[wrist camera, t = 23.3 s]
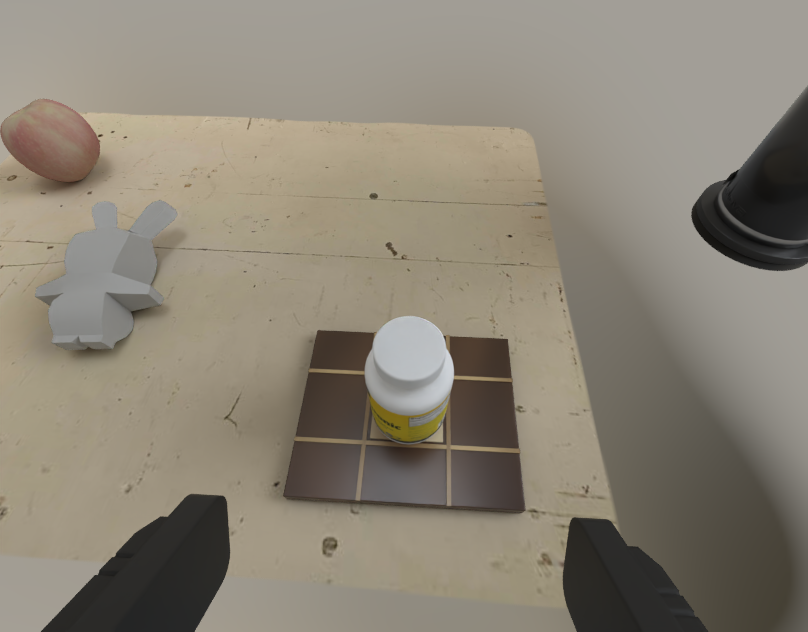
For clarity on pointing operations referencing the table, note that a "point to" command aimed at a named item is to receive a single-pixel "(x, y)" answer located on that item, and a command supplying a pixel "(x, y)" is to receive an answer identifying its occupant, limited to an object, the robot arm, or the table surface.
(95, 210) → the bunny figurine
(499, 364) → the board
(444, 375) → the supplement bottle
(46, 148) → the apple
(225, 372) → the table surface
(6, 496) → the table surface
